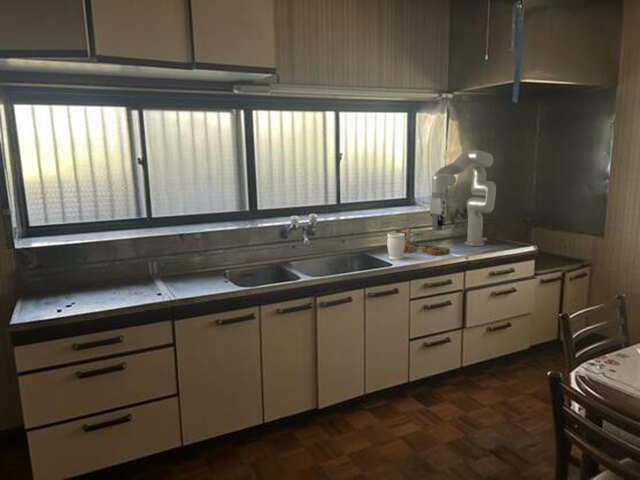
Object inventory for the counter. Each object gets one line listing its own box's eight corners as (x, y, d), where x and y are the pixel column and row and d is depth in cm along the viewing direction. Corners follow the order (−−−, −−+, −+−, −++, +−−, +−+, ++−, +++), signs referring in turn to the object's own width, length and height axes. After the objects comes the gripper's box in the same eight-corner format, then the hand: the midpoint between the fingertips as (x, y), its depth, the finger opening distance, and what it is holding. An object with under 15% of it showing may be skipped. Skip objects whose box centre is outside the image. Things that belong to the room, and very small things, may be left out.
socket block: (429, 249, 314) (429, 244, 314) (449, 255, 299) (449, 248, 298) (414, 252, 309) (415, 246, 308) (434, 257, 293) (434, 251, 292)
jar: (393, 255, 301) (393, 231, 298) (407, 257, 295) (408, 233, 292) (383, 259, 293) (383, 234, 290) (398, 261, 287) (399, 236, 284)
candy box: (394, 252, 311) (394, 228, 308) (397, 251, 314) (397, 227, 311) (408, 253, 306) (408, 229, 303) (410, 252, 310) (410, 228, 307)
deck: (442, 248, 318) (442, 246, 318) (451, 250, 312) (451, 248, 311) (433, 249, 315) (433, 248, 314) (441, 251, 308) (441, 250, 308)
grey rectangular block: (437, 229, 299) (437, 211, 297) (442, 229, 296) (442, 212, 294) (432, 229, 298) (432, 212, 296) (437, 230, 294) (437, 213, 292)
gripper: (452, 196, 288) (451, 226, 291) (433, 194, 302) (432, 223, 305) (443, 197, 284) (442, 228, 287) (424, 194, 298) (423, 224, 302)
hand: (437, 225), depth 296 cm, fingers closed on grey rectangular block, 4 cm apart
